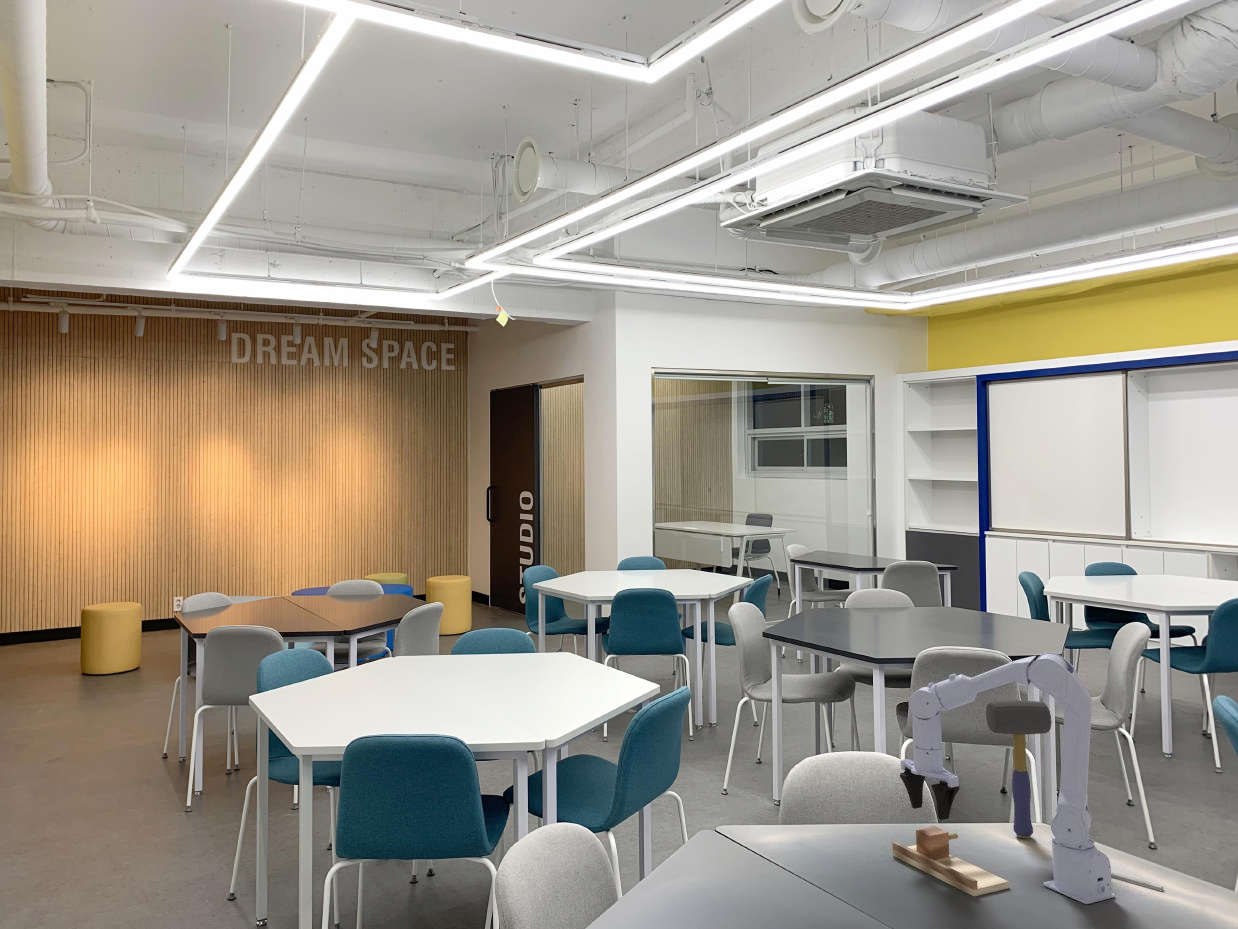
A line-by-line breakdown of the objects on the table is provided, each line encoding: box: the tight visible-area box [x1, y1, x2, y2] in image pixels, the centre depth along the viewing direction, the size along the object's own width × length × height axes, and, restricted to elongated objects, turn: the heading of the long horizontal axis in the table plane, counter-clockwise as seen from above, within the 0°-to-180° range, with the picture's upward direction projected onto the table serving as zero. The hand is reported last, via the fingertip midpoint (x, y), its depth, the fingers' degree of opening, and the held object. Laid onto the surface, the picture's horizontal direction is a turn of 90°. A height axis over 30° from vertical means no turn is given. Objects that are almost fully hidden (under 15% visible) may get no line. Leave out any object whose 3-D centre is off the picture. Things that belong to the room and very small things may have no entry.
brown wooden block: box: [915, 825, 959, 860], centre depth 177 cm, size 4×9×5 cm, turn 114°
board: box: [892, 841, 1010, 897], centre depth 171 cm, size 22×9×3 cm, turn 24°
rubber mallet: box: [985, 699, 1052, 839], centre depth 190 cm, size 12×8×30 cm, turn 86°
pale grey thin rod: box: [1111, 871, 1164, 892], centre depth 166 cm, size 12×1×1 cm, turn 40°
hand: (930, 813), depth 177 cm, fingers open, 7 cm apart
